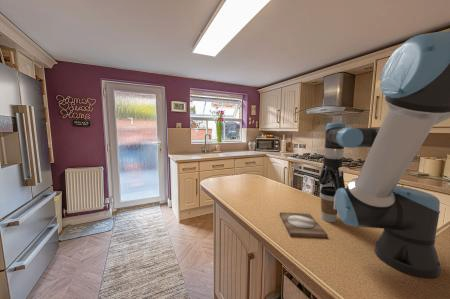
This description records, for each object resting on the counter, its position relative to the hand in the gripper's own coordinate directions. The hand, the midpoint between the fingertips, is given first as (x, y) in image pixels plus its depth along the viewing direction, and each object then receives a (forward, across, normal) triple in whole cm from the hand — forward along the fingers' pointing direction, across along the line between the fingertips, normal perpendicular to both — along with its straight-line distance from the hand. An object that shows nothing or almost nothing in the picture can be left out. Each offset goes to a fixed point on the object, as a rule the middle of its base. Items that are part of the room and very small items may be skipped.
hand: (329, 203), depth 88 cm
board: (+8, -8, +15) cm, 18 cm away
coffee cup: (+8, 0, 0) cm, 8 cm away
